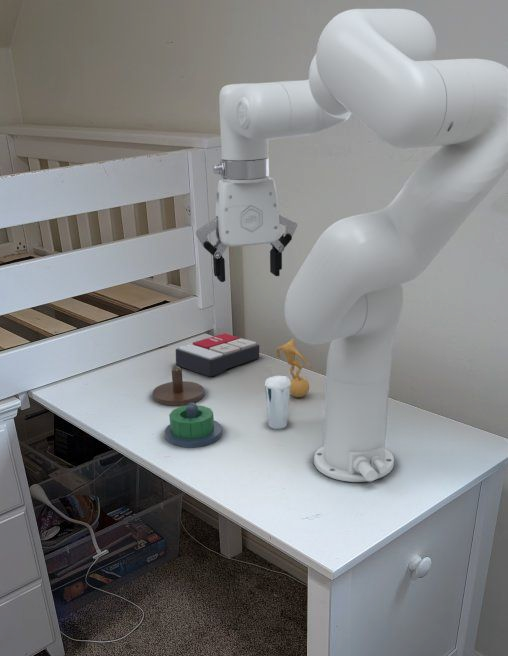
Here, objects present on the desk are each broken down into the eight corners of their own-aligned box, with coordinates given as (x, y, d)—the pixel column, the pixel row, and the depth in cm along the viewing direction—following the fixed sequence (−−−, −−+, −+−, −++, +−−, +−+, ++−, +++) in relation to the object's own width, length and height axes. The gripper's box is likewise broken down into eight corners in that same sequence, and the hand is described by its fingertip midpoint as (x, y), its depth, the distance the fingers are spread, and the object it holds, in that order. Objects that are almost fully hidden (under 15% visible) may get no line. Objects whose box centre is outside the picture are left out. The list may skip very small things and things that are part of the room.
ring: (218, 435, 128) (217, 419, 126) (175, 441, 126) (174, 425, 125) (207, 417, 134) (206, 402, 133) (167, 423, 132) (166, 408, 131)
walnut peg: (209, 401, 143) (207, 372, 140) (158, 408, 141) (155, 379, 138) (197, 382, 151) (195, 354, 148) (149, 389, 149) (146, 361, 146)
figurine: (321, 399, 142) (323, 338, 136) (300, 408, 138) (300, 347, 133) (290, 387, 147) (290, 329, 141) (268, 396, 144) (267, 337, 138)
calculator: (260, 341, 161) (210, 357, 151) (260, 360, 163) (210, 377, 153) (224, 331, 167) (174, 345, 158) (224, 349, 169) (175, 365, 160)
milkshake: (280, 416, 136) (280, 364, 131) (295, 427, 132) (295, 374, 127) (258, 421, 134) (257, 369, 129) (272, 433, 130) (272, 379, 125)
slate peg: (228, 442, 127) (227, 410, 124) (171, 451, 125) (168, 419, 122) (214, 419, 136) (212, 388, 133) (160, 427, 134) (157, 396, 131)
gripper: (198, 177, 115) (204, 288, 123) (304, 169, 118) (303, 277, 127) (187, 171, 121) (194, 277, 129) (288, 164, 125) (288, 267, 133)
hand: (248, 277), depth 128 cm, fingers open, 9 cm apart
